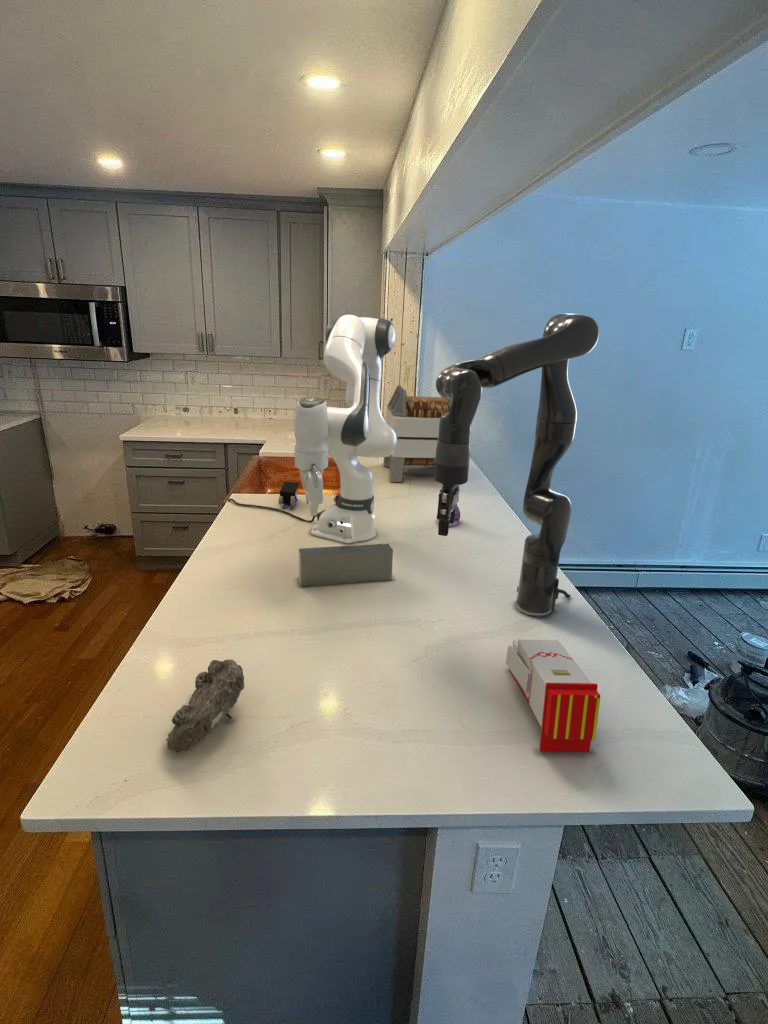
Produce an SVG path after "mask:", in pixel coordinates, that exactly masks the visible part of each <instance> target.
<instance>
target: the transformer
mask: <svg viewBox="0 0 768 1024" xmlns="http://www.w3.org/2000/svg"><path fill="white" fill-rule="evenodd" d="M407 394H408V393H407V390H406V389H404V388H403V387H402V385H399V384H398V385H397V386H396V388H395V390H394V392H393V394H392V395H391V398H390V400H389V402H388V404H387V405H386V413H385V414H386V415H385V422H386V423H387V424H388V425H389V426H390V427H391V428H392V429H393V430H394V432H395V434H396V437H397V446H396V449H395V451H394V452H393V453H392V454H391V455H390V456H389V457H383V466H384V467H388V468H389V475H388V476H389V477H388V478H389V480H390V482H391V483H402V482H403V475H404V469H405V466H406V467H407V466H411V467H412V466H413V467H415V466H416V467H417V466H418V467H435V456H436V447H437V442H438V433H439V421H440V417H441V416H442V415H443V414H444V413H447V412H449V411H450V407H451V403H452V401H451V400H448V399H445V398H443V397H442V396H441V395H440V396H415V395H414V396H413V395H412V396H411V395H407Z"/></svg>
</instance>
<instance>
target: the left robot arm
mask: <svg viewBox="0 0 768 1024" xmlns="http://www.w3.org/2000/svg"><path fill="white" fill-rule="evenodd" d="M395 341H396V330H395V326H394V324H393V323H392V321H391V320H389V319H386V318H381V317H380V318H376V317H375V318H374V317H368V316H367V317H366V316H357V315H354V314H344V315H342V316H340V317H338V318H333V319H332V320H331V321H330V322H329V323H328V324H327V325H326V329H325V342H326V344H325V347H324V352H323V362H324V366H325V367H326V369H327V370H328V372H329V373H330V374H331V375H332V376H334V377H335V378H336V379H338V380H341V381H343V382H346V389H345V398H344V400H345V404H346V406H347V407H336V406H335V407H334V406H327V401H326V400H325V398H322V397H319V396H307V397H302V398H300V399H298V401H297V402H296V406H295V410H294V421H293V422H294V426H293V428H294V430H293V431H294V433H293V434H294V437H295V444H294V467H295V468H296V469H299V477H300V482H301V486H302V488H303V490H304V493H305V502H306V504H307V505H309V506H310V508H309V514H310V516H311V517H312V518H311V519H310V520H307V519H304V518H302V517H300V516H297V515H295V514H292V513H290V512H289V511H286V510H283V509H280V508H276V507H270V506H264V505H258V504H248V503H247V504H245V503H240V502H237V501H236V500H235V499H234V498H229V499H228V500H227V502H233V503H234V504H236V506H241V507H251V508H259V509H265V510H272V511H277V512H279V513H280V512H281V513H284V514H286V515H289V516H291V517H293V518H295V519H298V520H300V521H301V522H305V523H312V522H314V521H315V518H316V520H317V523H315V524H314V525H313V526H312V528H311V530H310V533H311V536H315V537H319V538H323V539H326V540H330V541H336V542H339V543H343V544H352V543H357V542H365V541H368V540H372V539H373V538H375V537H376V535H377V532H376V528H375V523H374V518H375V515H374V513H373V512H374V509H375V496H374V474H373V472H372V471H371V469H369V468H368V467H367V466H365V465H364V464H362V463H361V462H360V461H359V459H358V457H360V458H361V457H362V458H372V459H379V458H384V457H389V456H390V455H391V454H392V453H393V452H394V451H395V449H396V446H397V437H396V434H395V432H394V430H393V429H392V428H391V427H390V426H389V425H388V424H387V423H386V419H384V416H383V414H382V411H381V406H380V405H381V404H380V397H381V395H380V394H381V383H382V359H383V360H384V358H385V356H386V355H388V354H389V353H390V352H391V350H392V349H393V348H394V344H395ZM329 456H330V457H331V458H332V460H333V461H334V463H335V465H336V467H337V470H338V473H339V483H340V484H339V485H340V488H339V489H340V490H339V491H338V492H337V494H336V495H335V496H334V497H333V502H334V504H333V505H331V506H329V507H328V508H326V509H323V510H322V511H319V512H318V510H319V505H321V504H323V503H324V482H323V481H324V480H323V474H324V470H325V469H327V468H328V467H329Z"/></svg>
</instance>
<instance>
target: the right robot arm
mask: <svg viewBox="0 0 768 1024" xmlns="http://www.w3.org/2000/svg"><path fill="white" fill-rule="evenodd" d="M599 336H600V328H599V325H598V322H597V321H596V319H594V317H592V316H589V315H586V314H581V313H556V314H554V315H552V316H551V317H550V318H549V319H548V320H547V322H546V324H545V326H544V328H543V333H542V337H539V338H535V339H532V340H528V341H527V340H526V341H523V342H518V343H515V344H514V343H513V344H511V345H507V346H505V347H502V348H499V349H496V350H494V351H492V352H490V353H487V354H485V355H483V356H481V357H478V358H473V359H469V360H466V361H462V362H457V363H454V364H451V365H450V366H447V367H446V368H444V369H443V370H441V372H440V373H439V374H438V376H437V377H436V380H435V389H436V392H437V394H438V395H439V396H440V397H441V396H442V397H443V398H445V399H448V400H451V401H452V403H451V407H450V411H449V412H447V413H444V414H443V415H442V416H441V417H440V421H439V433H438V442H437V447H436V456H435V466H434V469H433V470H434V471H433V480H434V481H435V482H436V483H439V484H441V485H442V486H441V489H439V493H438V503H437V513H436V520H438V519H439V522H438V529H437V535H438V536H442V537H447V536H449V532H450V531H449V529H450V527H449V523H454V520H455V509H456V508H454V507H456V506H458V503H459V498H460V497H459V495H460V486H462V485H464V484H466V483H467V482H468V479H469V470H470V459H471V458H470V457H471V435H472V424H473V420H474V419H475V415H476V414H477V411H478V407H479V404H480V401H481V398H482V393H483V389H490V388H495V387H498V386H500V385H502V384H505V383H507V382H509V381H512V380H513V379H515V378H518V377H520V376H522V375H525V374H528V373H529V372H533V371H536V370H537V369H541V380H540V390H539V399H538V400H539V401H538V409H537V415H536V422H535V430H534V440H533V441H534V443H533V450H532V456H531V463H530V468H529V474H528V479H527V483H526V487H525V492H524V495H523V502H522V510H523V511H522V512H523V515H524V516H525V518H526V519H527V520H528V521H531V522H533V523H535V524H536V525H539V526H540V530H539V533H534V534H530V535H527V536H526V538H525V539H524V543H523V544H524V545H523V552H522V560H521V566H520V572H519V574H520V575H519V581H518V586H517V588H516V593H517V595H516V600H515V608H516V610H518V611H519V612H521V613H522V614H524V615H527V616H531V617H546V616H549V615H550V614H551V613H552V612H555V608H556V603H557V600H558V599H559V594H563V595H564V597H565V598H566V599H570V598H571V594H570V593H568V592H567V591H566V590H564V589H561V588H559V581H560V579H559V578H558V577H557V576H558V569H559V564H560V558H561V557H560V556H561V552H562V547H563V546H564V544H565V542H566V538H567V534H568V530H569V525H570V520H571V517H572V516H571V515H572V502H571V500H570V498H569V497H568V496H566V495H564V494H562V493H559V492H558V491H554V490H552V489H551V487H552V485H551V484H552V478H553V473H554V470H555V468H556V467H557V465H558V463H559V462H560V461H561V459H562V458H563V457H564V456H565V454H567V452H568V451H569V449H570V448H571V446H572V444H573V442H574V438H575V433H576V427H577V420H578V412H577V406H576V405H577V404H576V401H575V398H574V395H573V393H572V389H571V386H570V383H569V376H568V375H569V374H568V373H569V371H568V370H569V361H570V359H575V358H579V357H584V356H585V355H587V354H588V353H590V352H591V351H593V349H594V348H595V347H596V345H597V343H598V341H599ZM443 510H445V511H446V512H445V515H443V514H442V511H443Z"/></svg>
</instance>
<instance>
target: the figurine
mask: <svg viewBox="0 0 768 1024" xmlns="http://www.w3.org/2000/svg"><path fill="white" fill-rule="evenodd" d="M454 508H456V509H455V520H454V523H449V528H450V527H455V526H457V525H458V524H459V523H460V518H461V511H460V508H459V506H458V505H457V506H456V507H454ZM445 512H446V511H445V510H443V511H442V514H443V515H445ZM437 523H439V519H437Z"/></svg>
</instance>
